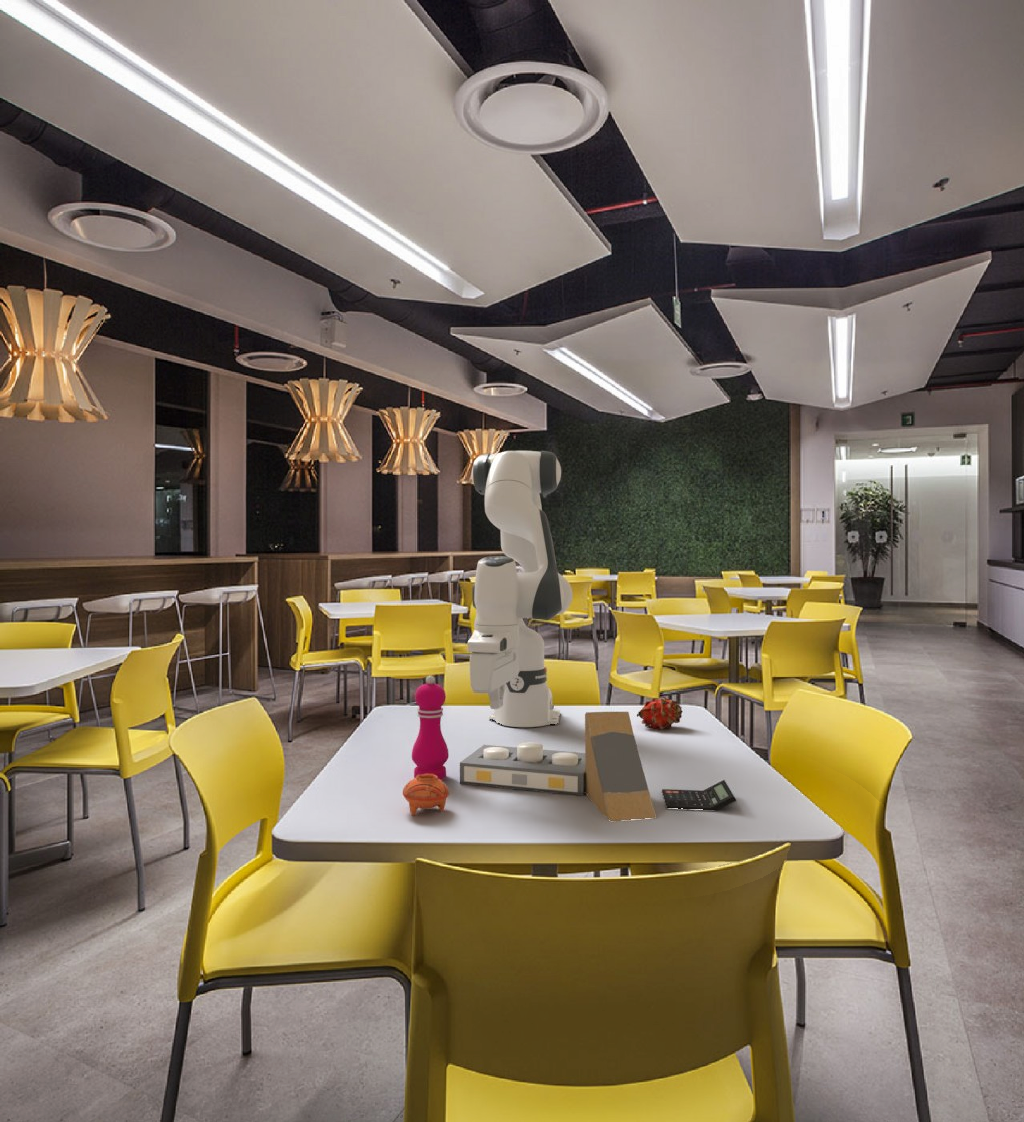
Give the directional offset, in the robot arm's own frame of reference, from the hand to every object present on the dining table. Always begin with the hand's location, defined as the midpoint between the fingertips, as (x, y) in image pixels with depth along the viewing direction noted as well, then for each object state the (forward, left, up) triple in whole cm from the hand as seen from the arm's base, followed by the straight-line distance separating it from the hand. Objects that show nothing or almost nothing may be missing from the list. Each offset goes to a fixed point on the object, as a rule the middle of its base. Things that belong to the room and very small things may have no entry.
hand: (496, 707), depth 145 cm
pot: (+23, -5, -14) cm, 27 cm away
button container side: (0, +14, -13) cm, 19 cm away
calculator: (+4, +39, -14) cm, 42 cm away
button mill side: (0, 0, -13) cm, 13 cm away
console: (0, +7, -13) cm, 15 cm away
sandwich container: (+10, +26, -14) cm, 31 cm away
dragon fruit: (-51, +27, -14) cm, 59 cm away
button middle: (0, +7, -11) cm, 13 cm away
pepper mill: (+5, -12, -14) cm, 19 cm away
